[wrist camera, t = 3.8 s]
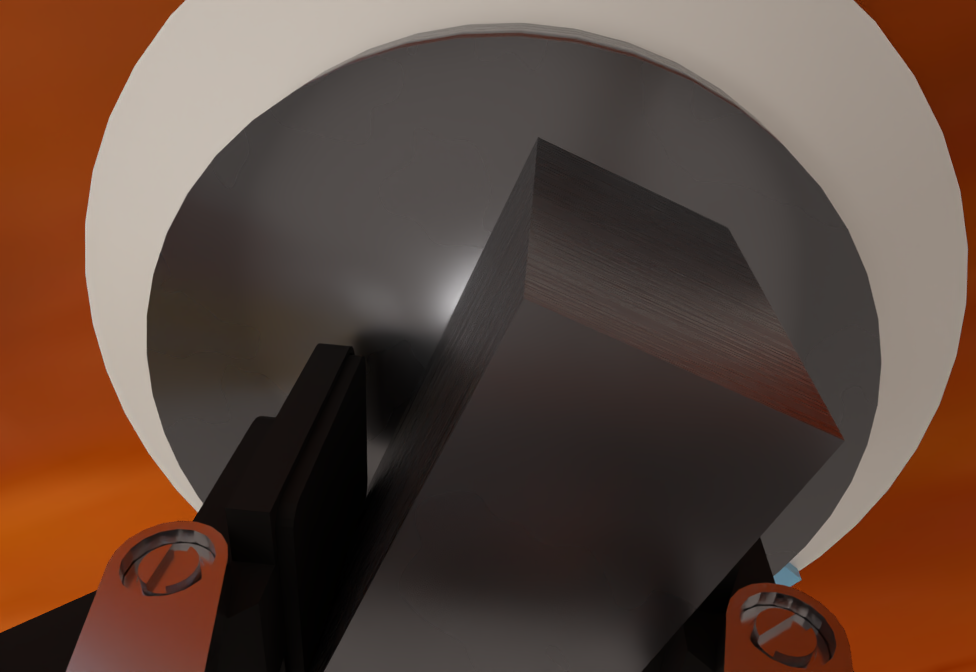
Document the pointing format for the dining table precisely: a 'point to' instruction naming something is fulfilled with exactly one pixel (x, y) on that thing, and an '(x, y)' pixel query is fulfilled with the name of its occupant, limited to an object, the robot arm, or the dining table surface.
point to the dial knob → (527, 339)
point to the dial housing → (604, 11)
